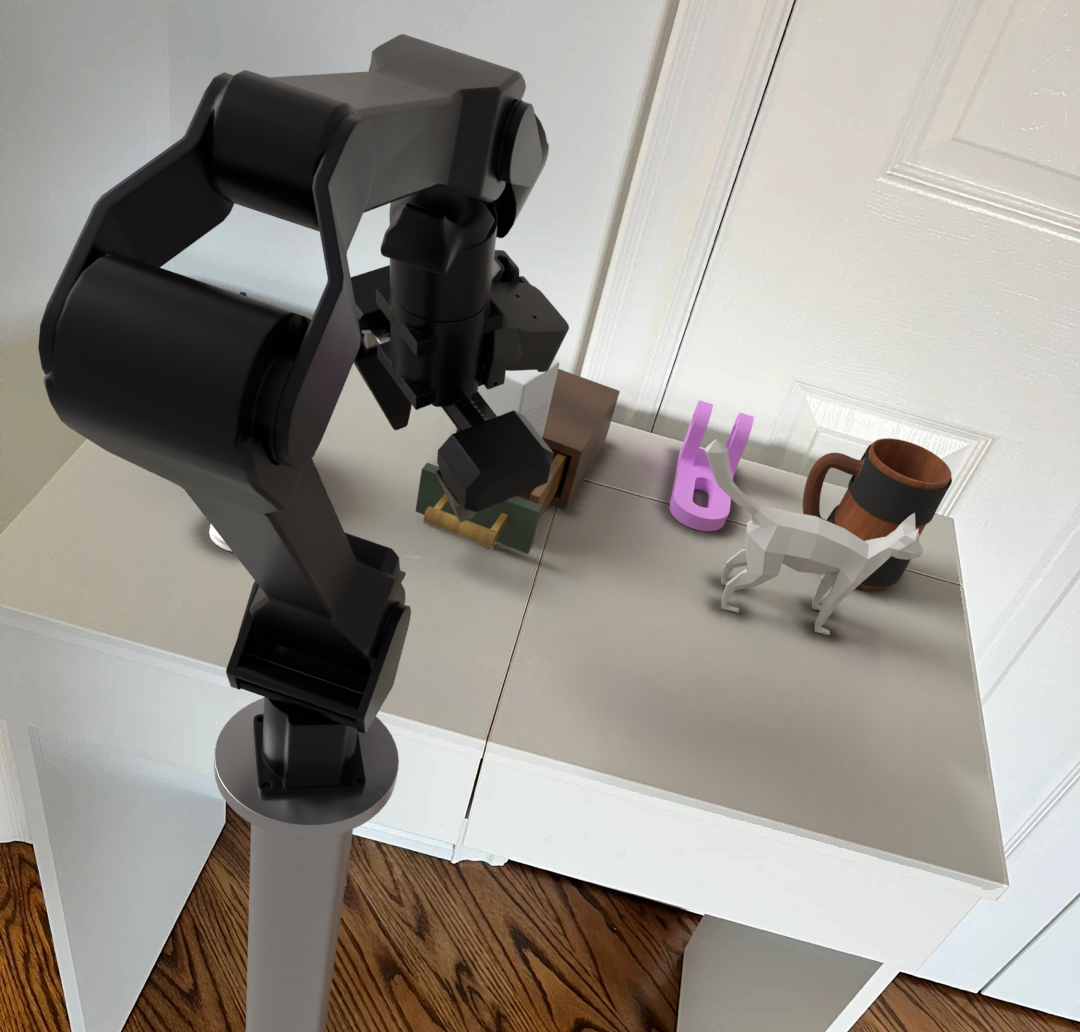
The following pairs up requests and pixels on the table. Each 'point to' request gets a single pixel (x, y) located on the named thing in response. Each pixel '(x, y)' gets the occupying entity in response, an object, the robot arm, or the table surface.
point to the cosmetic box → (524, 395)
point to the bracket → (705, 472)
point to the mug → (882, 495)
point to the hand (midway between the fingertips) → (432, 471)
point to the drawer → (492, 510)
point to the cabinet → (577, 427)
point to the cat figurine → (804, 546)
